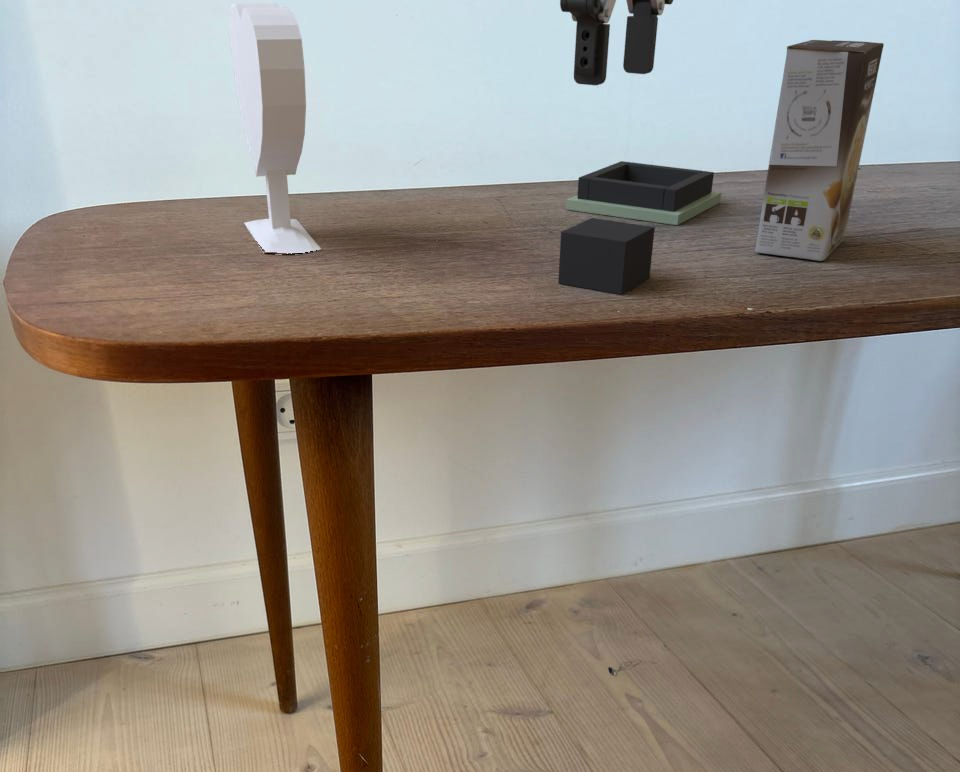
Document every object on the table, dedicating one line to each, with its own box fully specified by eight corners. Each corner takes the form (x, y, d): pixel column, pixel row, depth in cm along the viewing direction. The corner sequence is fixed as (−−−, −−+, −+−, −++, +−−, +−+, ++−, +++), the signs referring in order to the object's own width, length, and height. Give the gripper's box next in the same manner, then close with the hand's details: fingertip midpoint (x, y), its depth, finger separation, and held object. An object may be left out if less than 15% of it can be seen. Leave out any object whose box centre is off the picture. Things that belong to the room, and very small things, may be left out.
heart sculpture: (326, 255, 91) (310, 12, 80) (268, 259, 89) (244, 12, 79) (292, 214, 103) (274, -1, 92) (240, 218, 101) (217, -1, 91)
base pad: (720, 202, 110) (724, 171, 108) (677, 225, 101) (681, 192, 99) (615, 188, 115) (617, 159, 113) (565, 209, 106) (567, 177, 104)
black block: (649, 277, 86) (655, 226, 84) (621, 294, 82) (626, 241, 80) (588, 267, 88) (591, 217, 86) (557, 283, 84) (560, 231, 82)
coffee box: (826, 263, 91) (867, 50, 81) (752, 253, 93) (785, 45, 84) (845, 239, 97) (885, 41, 88) (776, 231, 100) (808, 37, 91)
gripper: (646, -217, 61) (621, 93, 71) (729, -196, 72) (697, 73, 81) (533, -212, 65) (523, 84, 74) (628, -193, 75) (608, 66, 84)
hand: (614, 78), depth 77 cm, fingers open, 8 cm apart
